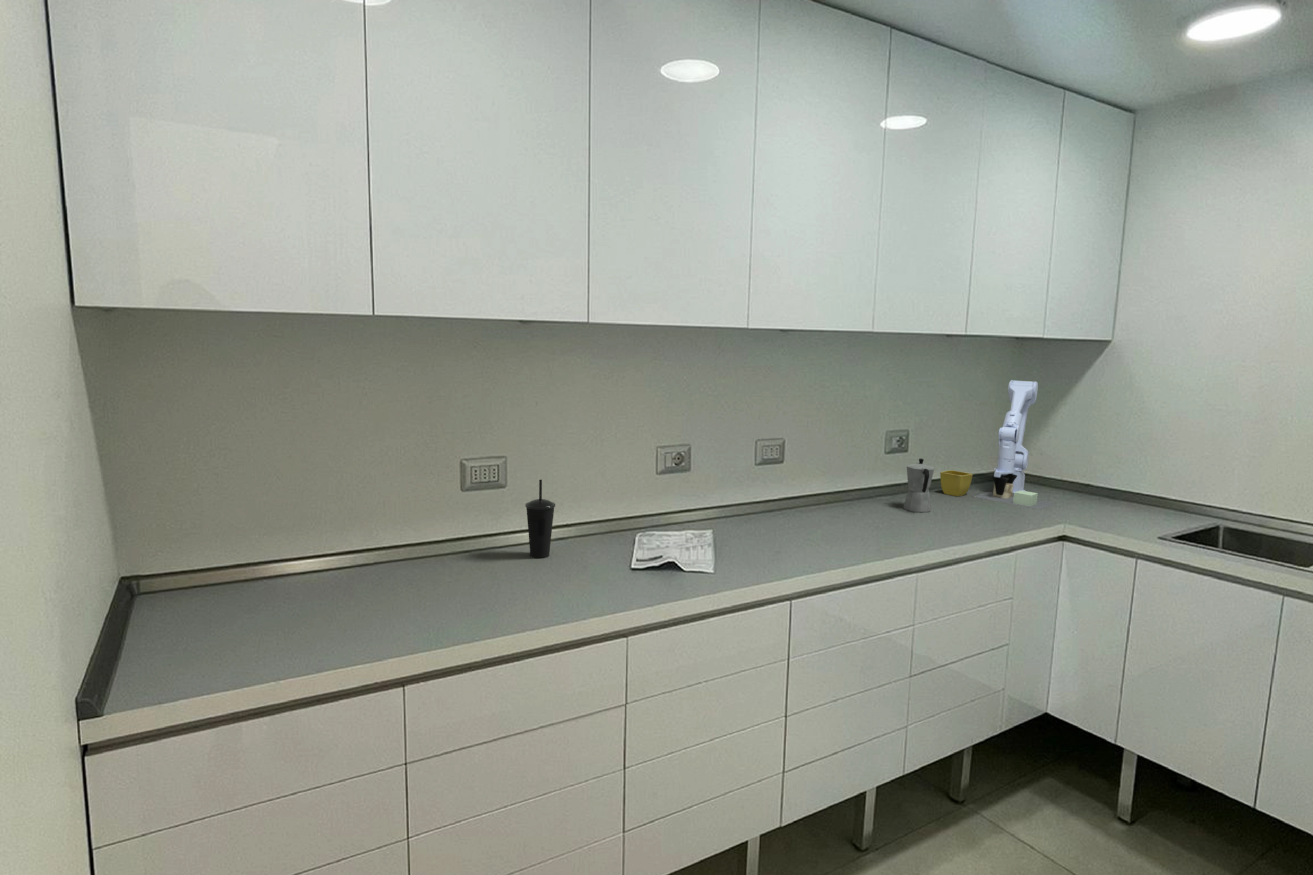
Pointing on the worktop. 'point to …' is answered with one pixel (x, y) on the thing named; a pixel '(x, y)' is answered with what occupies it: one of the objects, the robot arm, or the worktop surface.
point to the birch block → (1006, 493)
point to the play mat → (1010, 500)
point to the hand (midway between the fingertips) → (1002, 493)
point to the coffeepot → (918, 487)
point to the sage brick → (1025, 498)
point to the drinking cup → (540, 525)
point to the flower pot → (955, 482)
